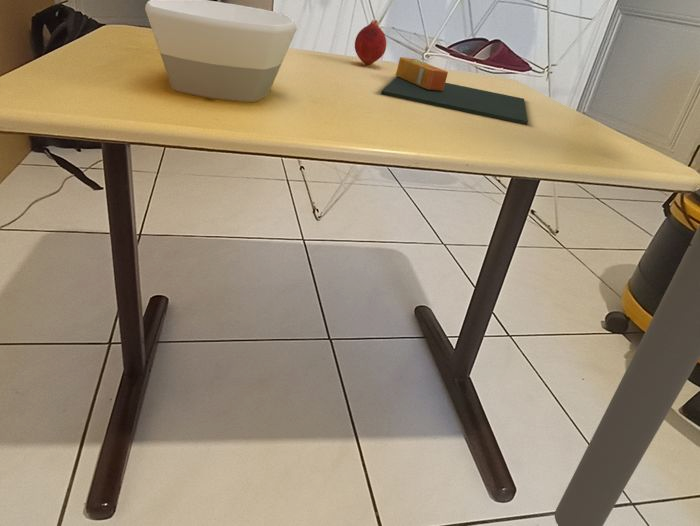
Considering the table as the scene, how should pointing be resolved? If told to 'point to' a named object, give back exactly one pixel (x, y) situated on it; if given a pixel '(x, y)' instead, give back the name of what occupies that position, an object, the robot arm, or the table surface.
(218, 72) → the bowl
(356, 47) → the onion
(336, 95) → the table surface
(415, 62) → the supplement box
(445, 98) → the mat
